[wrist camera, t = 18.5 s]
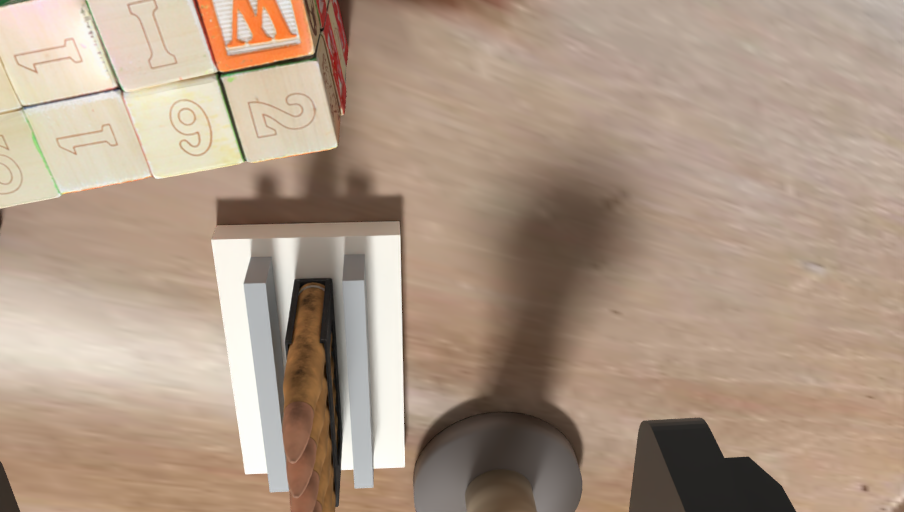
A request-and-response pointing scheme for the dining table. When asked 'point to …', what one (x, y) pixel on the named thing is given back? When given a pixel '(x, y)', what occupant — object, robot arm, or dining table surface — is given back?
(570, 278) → the dining table surface
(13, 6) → the stack of blocks
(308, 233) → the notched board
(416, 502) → the bobbin post
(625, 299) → the dining table surface
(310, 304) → the ammunition clip
